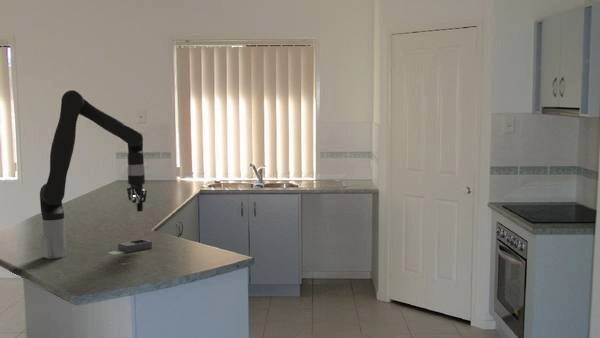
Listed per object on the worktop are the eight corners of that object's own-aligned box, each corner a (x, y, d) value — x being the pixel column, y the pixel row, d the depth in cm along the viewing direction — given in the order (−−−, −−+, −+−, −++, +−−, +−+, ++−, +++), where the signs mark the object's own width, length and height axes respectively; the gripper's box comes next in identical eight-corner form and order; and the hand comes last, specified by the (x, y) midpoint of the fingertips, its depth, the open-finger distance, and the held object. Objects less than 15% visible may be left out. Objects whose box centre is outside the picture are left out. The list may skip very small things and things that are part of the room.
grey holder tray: (127, 253, 296) (126, 246, 296) (118, 250, 302) (118, 243, 301) (152, 248, 305) (151, 241, 305) (143, 246, 311) (142, 239, 310)
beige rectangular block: (135, 220, 300) (135, 203, 299) (130, 219, 303) (130, 202, 303) (144, 219, 303) (143, 202, 302) (139, 218, 306) (138, 201, 306)
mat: (113, 255, 292) (113, 254, 292) (107, 253, 296) (106, 252, 296) (125, 253, 296) (125, 252, 296) (118, 251, 300) (118, 250, 300)
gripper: (121, 173, 304) (122, 209, 305) (137, 175, 293) (138, 213, 295) (135, 172, 309) (136, 208, 311) (151, 174, 299) (152, 211, 300)
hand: (137, 210), depth 303 cm, fingers closed on beige rectangular block, 4 cm apart
